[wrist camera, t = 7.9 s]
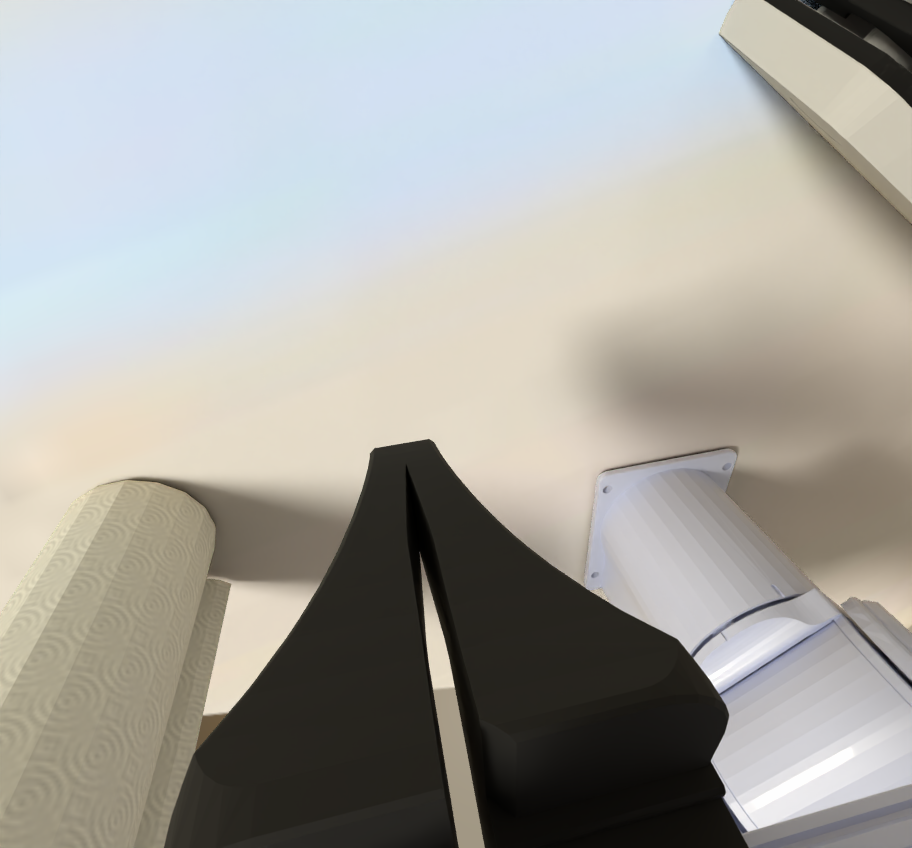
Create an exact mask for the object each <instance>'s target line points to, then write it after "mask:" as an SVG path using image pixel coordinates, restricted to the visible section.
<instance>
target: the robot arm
mask: <svg viewBox="0 0 912 848" xmlns="http://www.w3.org/2000/svg"><path fill="white" fill-rule="evenodd" d="M736 459H737V454H736V452H735V451H734V450H732V449H722V450H717V451H712V452H706V453H701V454H696V455H690V456H685V457H679V458H674V459H669V460H663V461H658V462H653V463H647V464H642V465H637V466H631V467H626V468H621V469H615V470H610V471H605V472H603V473H601V474H600V475H599V476H598V478H597V481H596V489H595V497H594V505H593V513H592V521H591V529H590V537H589V545H588V553H587V561H586V569H585V577H584V585H585V587H586V588H584V587H583V586H582V585H580V584H579V583H577V582H576V581H574V580H573V579H571V578H570V577H568V576H567V575H565V574H564V573H562V572H561V571H559V570H558V569H556V568H555V567H553V566H552V565H551V564H549V563H548V562H547V561H545V560H544V559H543V558H541V557H540V556H539V555H538V554H536V553H535V552H534V551H532V550H531V549H530V548H529V547H527V546H526V545H525V544H524V543H523V542H522V541H520V540H519V539H518V538H517V537H516V536H514V535H513V534H512V533H511V532H510V531H509V530H508V529H507V528H505V527H504V526H503V525H502V524H501V523H500V522H499V521H498V520H497V519H496V518H495V517H494V516H493V515H492V514H491V513H490V512H489V511H488V510H487V509H486V508H485V507H484V506H483V505H482V504H481V503H480V502H479V501H478V500H477V499H476V497H475V496H474V495H473V494H472V493H471V492H470V491H469V489H468V488H467V487H466V486H465V485H464V484H463V483H462V481H461V480H460V479H459V478H458V477H457V475H456V474H455V473H454V471H453V470H452V469H451V467H450V466H449V465H448V464H447V462H446V461H445V459H444V458H443V456H442V455H441V453H440V452H439V450H438V448H437V447H436V445H435V443H434V442H433V441H431V440H430V439H427V440H421V441H415V442H409V443H403V444H397V445H391V446H386V447H380V448H374V450H373V451H372V452H371V453H370V460H369V466H368V470H367V474H366V478H365V482H364V485H363V489H362V492H361V495H360V497H359V500H358V503H357V506H356V509H355V512H354V514H353V517H352V519H351V522H350V524H349V527H348V529H347V531H346V533H345V536H344V538H343V540H342V543H341V545H340V547H339V549H338V551H337V553H336V555H335V557H334V559H333V561H332V563H331V565H330V567H329V569H328V571H327V573H326V575H325V577H324V578H323V580H322V582H321V584H320V586H319V587H318V589H317V591H316V593H315V594H314V596H313V597H312V599H311V601H310V602H309V604H308V606H307V607H306V609H305V610H304V612H303V614H302V615H301V617H300V619H299V620H298V622H297V623H296V625H295V626H294V628H293V629H292V631H291V632H290V634H289V635H288V636H287V638H286V639H285V641H284V642H283V643H282V645H281V646H280V647H279V649H278V650H277V652H276V653H275V654H274V656H273V657H272V658H271V660H270V661H269V662H268V664H267V665H266V666H265V668H264V669H263V671H262V672H261V673H260V675H259V676H258V677H257V679H256V680H255V681H254V683H253V684H252V685H251V686H250V688H249V689H248V690H247V691H246V693H245V694H244V695H243V696H242V698H241V699H240V700H239V701H238V702H237V703H236V705H235V706H234V707H233V708H232V709H231V711H230V712H229V713H228V714H227V715H226V717H225V718H224V719H223V720H222V721H221V722H220V724H219V725H218V726H217V727H216V728H215V730H214V731H213V732H212V733H211V734H210V735H209V736H208V738H207V739H206V740H205V741H204V742H203V744H202V745H201V746H200V747H199V748H198V749H197V750H196V751H195V753H194V754H193V756H192V759H191V761H190V764H189V767H188V769H187V772H186V775H185V778H184V780H183V783H182V786H181V789H180V792H179V796H178V798H177V801H176V804H175V807H174V810H173V813H172V816H171V820H170V824H169V828H168V832H167V836H166V840H165V845H164V848H459V847H458V842H457V836H456V829H455V823H454V817H453V811H452V805H451V798H450V792H449V786H448V780H447V774H446V768H445V762H444V755H443V749H442V743H441V737H440V731H439V725H438V718H437V712H436V707H435V700H434V694H433V687H432V681H431V675H430V669H429V663H428V654H427V645H426V632H425V619H424V605H423V591H422V577H421V564H420V554H421V558H422V561H423V565H424V568H425V572H426V575H427V579H428V582H429V586H430V589H431V593H432V596H433V600H434V603H435V607H436V610H437V614H438V617H439V621H440V624H441V628H442V631H443V635H444V638H445V642H446V646H447V651H448V655H449V659H450V664H451V669H452V675H453V680H454V685H455V690H456V696H457V701H458V706H459V711H460V717H461V722H462V727H463V733H464V737H465V743H466V749H467V754H468V759H469V764H470V770H471V775H472V781H473V786H474V791H475V796H476V802H477V807H478V812H479V818H480V824H481V829H482V835H483V840H484V845H485V848H912V633H911V632H910V631H909V630H908V629H906V628H905V627H904V626H903V625H902V624H901V623H900V622H899V621H898V620H897V619H896V618H895V617H894V616H892V615H891V614H890V613H889V612H888V611H887V610H886V609H885V608H884V607H883V606H881V605H880V604H879V603H877V602H872V601H866V600H863V601H861V600H859V599H858V598H856V597H851V598H849V599H848V600H847V601H846V602H844V603H842V604H841V606H842V607H843V609H842V608H841V607H840V606H839V605H837V604H836V603H835V602H834V601H832V600H831V599H830V598H829V597H827V596H826V595H825V594H823V593H822V592H821V591H820V589H819V588H818V587H817V586H816V585H815V584H814V583H813V582H812V581H811V580H810V579H809V578H808V577H807V576H806V575H805V574H804V573H803V572H802V571H801V570H800V569H799V568H798V567H797V566H796V565H795V564H794V563H793V562H792V561H791V560H790V559H789V558H788V557H787V556H786V555H785V554H784V552H783V551H782V550H781V549H780V548H779V547H778V546H777V545H776V544H775V543H774V542H773V541H772V540H771V539H770V538H769V537H768V536H767V535H766V534H765V533H764V532H763V531H762V530H761V529H760V528H759V527H758V526H757V525H756V524H755V523H754V522H753V521H752V520H751V519H750V518H749V517H748V515H747V514H746V513H745V512H744V511H743V510H742V509H741V508H740V507H739V506H738V505H737V504H736V503H735V502H734V501H733V500H732V499H731V498H730V497H729V496H728V495H727V494H726V493H725V492H726V489H727V486H728V483H729V480H730V477H731V474H732V471H733V468H734V465H735V462H736ZM606 486H607V487H606ZM605 487H606V488H605ZM599 588H602V589H603V591H604V593H605V595H606V597H607V599H608V601H609V602H607V601H605V600H604V599H602V598H600V597H599V596H597V595H595V594H594V593H592V592H590V591H589V590H595V589H599ZM587 589H588V590H587Z"/></svg>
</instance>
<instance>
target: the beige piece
mask: <svg viewBox="0 0 912 848" xmlns="http://www.w3.org/2000/svg"><path fill="white" fill-rule="evenodd" d="M814 1H815V2H817V3H819V4H821V5H822V6H821V7H820V8H819V9H818V10H817V11H816V10H814V9H812V8H811V7H809V6H807V5H806V4H804V3H802V2H801V1H799V0H735V1H734V3H733V5H732V6H731V8H730V10H729V11H728V13H727V15H726V17H725V20H724V22H723V24H722V27H721V29H720V31H719V35H720V36H721V37H722V38H723V39H724V40H725V41H726V42H727V43H728V44H729V45H730V46H731V47H732V48H733V49H734V50H735V51H736V52H737V53H738V54H739V55H740V56H741V57H742V58H743V59H744V60H745V61H747V62H748V63H749V64H750V65H751V66H752V67H753V68H754V69H755V70H756V71H757V72H758V73H759V74H760V75H761V76H762V77H763V78H764V79H765V80H766V81H767V82H768V83H769V84H770V85H771V86H772V87H773V88H774V89H775V90H776V91H777V92H778V93H779V94H780V95H781V96H782V97H783V98H784V99H785V100H786V101H787V102H788V103H789V104H790V105H791V106H792V107H793V108H794V109H795V110H796V111H797V112H798V113H799V114H800V115H801V116H802V117H803V118H804V119H805V120H806V121H807V122H808V123H809V124H810V125H811V126H812V127H813V128H814V129H815V130H816V131H817V132H818V133H819V134H820V135H821V136H822V137H823V138H824V139H826V140H827V141H828V142H829V143H830V144H831V145H832V146H833V147H834V148H835V149H836V150H837V151H838V152H839V153H840V154H841V155H842V156H843V157H844V158H845V159H846V160H847V161H848V162H849V163H850V164H851V165H852V166H853V167H854V168H855V169H856V170H857V171H858V172H859V173H860V174H861V175H862V176H863V177H864V178H865V179H866V180H867V181H868V182H869V183H870V184H871V185H872V186H873V187H874V188H875V189H876V190H877V191H878V192H879V193H880V194H881V195H882V196H883V197H884V198H885V199H886V200H887V201H888V202H889V203H890V204H891V205H892V206H893V207H894V208H895V209H896V210H897V211H898V212H899V213H900V214H901V215H902V216H903V217H904V218H906V219H907V220H908V221H909V222H910V223H911V224H912V0H814Z"/></svg>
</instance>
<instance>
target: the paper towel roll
mask: <svg viewBox="0 0 912 848" xmlns="http://www.w3.org/2000/svg"><path fill="white" fill-rule="evenodd" d="M215 536H216V527H215V524H214V522H213V521H212V519H211V517H210V515H209V513H208V512H207V510H206V508H205V507H204V506H203V505H201V504H200V503H199V502H197V501H196V500H195V499H193V498H192V497H191V496H189V495H188V494H187V493H186V492H183V491H180V490H177V489H175V488H172V487H169V486H166V485H163V484H161V483H158V482H146V481H133V480H124V481H120V482H115V483H110V484H105V485H100V486H97V487H96V488H94V489H92V490H91V491H89V492H88V493H86V494H84V495H83V496H81V497H80V498H78V499H77V500H75V501H74V502H73V503H72V504H71V506H70V507H69V509H68V510H67V512H66V513H65V515H64V517H63V518H62V520H61V521H60V523H59V524H58V526H57V527H56V529H55V530H54V532H53V533H52V535H51V537H50V538H49V540H48V541H47V543H46V544H45V546H44V547H43V549H42V550H41V552H40V554H39V555H38V557H37V558H36V560H35V561H34V563H33V564H32V566H31V567H30V569H29V570H28V572H27V574H26V575H25V577H24V578H23V580H22V581H21V583H20V584H19V586H18V587H17V589H16V591H15V592H14V594H13V595H12V597H11V598H10V600H9V601H8V603H7V604H6V606H5V607H4V609H3V611H2V612H1V614H0V848H164V845H165V840H166V836H167V832H168V828H169V824H170V820H171V816H172V813H173V810H174V807H175V804H176V801H177V798H178V796H179V792H180V789H181V786H182V783H183V780H184V778H185V775H186V772H187V769H188V767H189V764H190V761H191V759H192V756H193V754H194V752H195V748H196V743H197V738H198V734H199V729H200V724H201V720H202V716H203V711H204V706H205V702H206V697H207V693H208V688H209V683H210V679H211V674H212V670H213V665H214V660H215V656H216V651H217V647H218V642H219V637H220V633H221V628H222V624H223V619H224V614H225V610H226V605H227V601H228V596H229V591H230V587H231V584H230V583H227V582H224V581H221V580H215V579H206V578H207V575H208V571H209V567H210V563H211V560H212V556H213V552H214V549H215Z"/></svg>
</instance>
